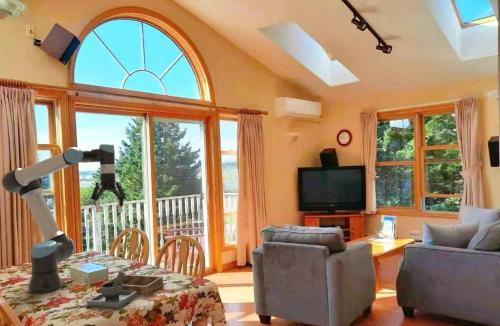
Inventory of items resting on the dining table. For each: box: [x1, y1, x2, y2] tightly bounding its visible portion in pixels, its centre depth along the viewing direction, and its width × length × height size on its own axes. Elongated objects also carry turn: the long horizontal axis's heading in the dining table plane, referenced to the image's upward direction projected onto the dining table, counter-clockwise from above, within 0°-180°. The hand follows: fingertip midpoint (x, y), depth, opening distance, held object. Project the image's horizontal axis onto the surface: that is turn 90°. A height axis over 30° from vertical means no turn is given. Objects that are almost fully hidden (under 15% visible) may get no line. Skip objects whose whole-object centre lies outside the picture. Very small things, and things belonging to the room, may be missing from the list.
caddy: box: [102, 274, 164, 297], centre depth 195 cm, size 24×16×4 cm, turn 75°
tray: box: [86, 290, 138, 310], centre depth 178 cm, size 16×16×3 cm
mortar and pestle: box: [99, 270, 126, 302], centre depth 178 cm, size 11×9×12 cm
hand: (109, 212), depth 210 cm, fingers open, 13 cm apart
